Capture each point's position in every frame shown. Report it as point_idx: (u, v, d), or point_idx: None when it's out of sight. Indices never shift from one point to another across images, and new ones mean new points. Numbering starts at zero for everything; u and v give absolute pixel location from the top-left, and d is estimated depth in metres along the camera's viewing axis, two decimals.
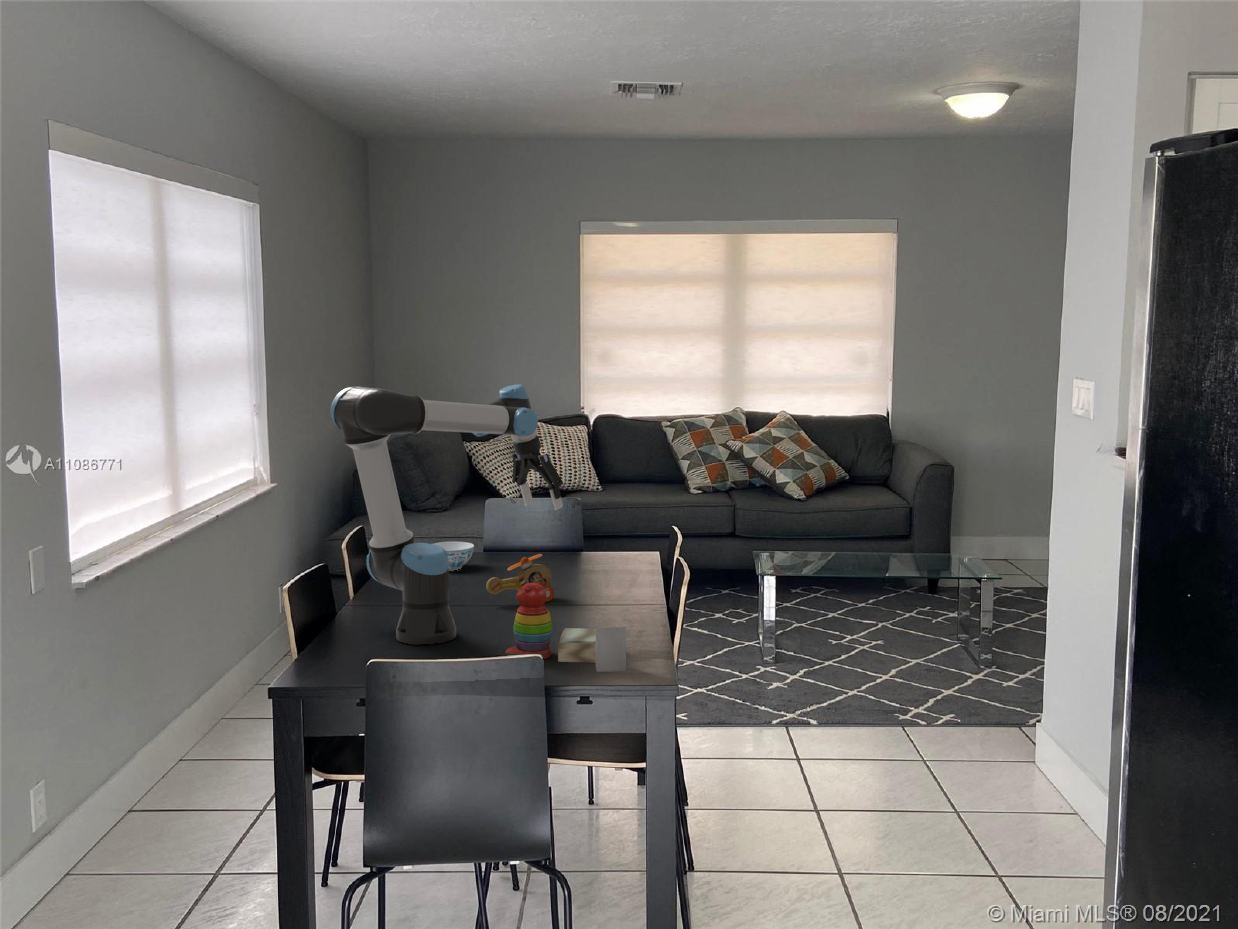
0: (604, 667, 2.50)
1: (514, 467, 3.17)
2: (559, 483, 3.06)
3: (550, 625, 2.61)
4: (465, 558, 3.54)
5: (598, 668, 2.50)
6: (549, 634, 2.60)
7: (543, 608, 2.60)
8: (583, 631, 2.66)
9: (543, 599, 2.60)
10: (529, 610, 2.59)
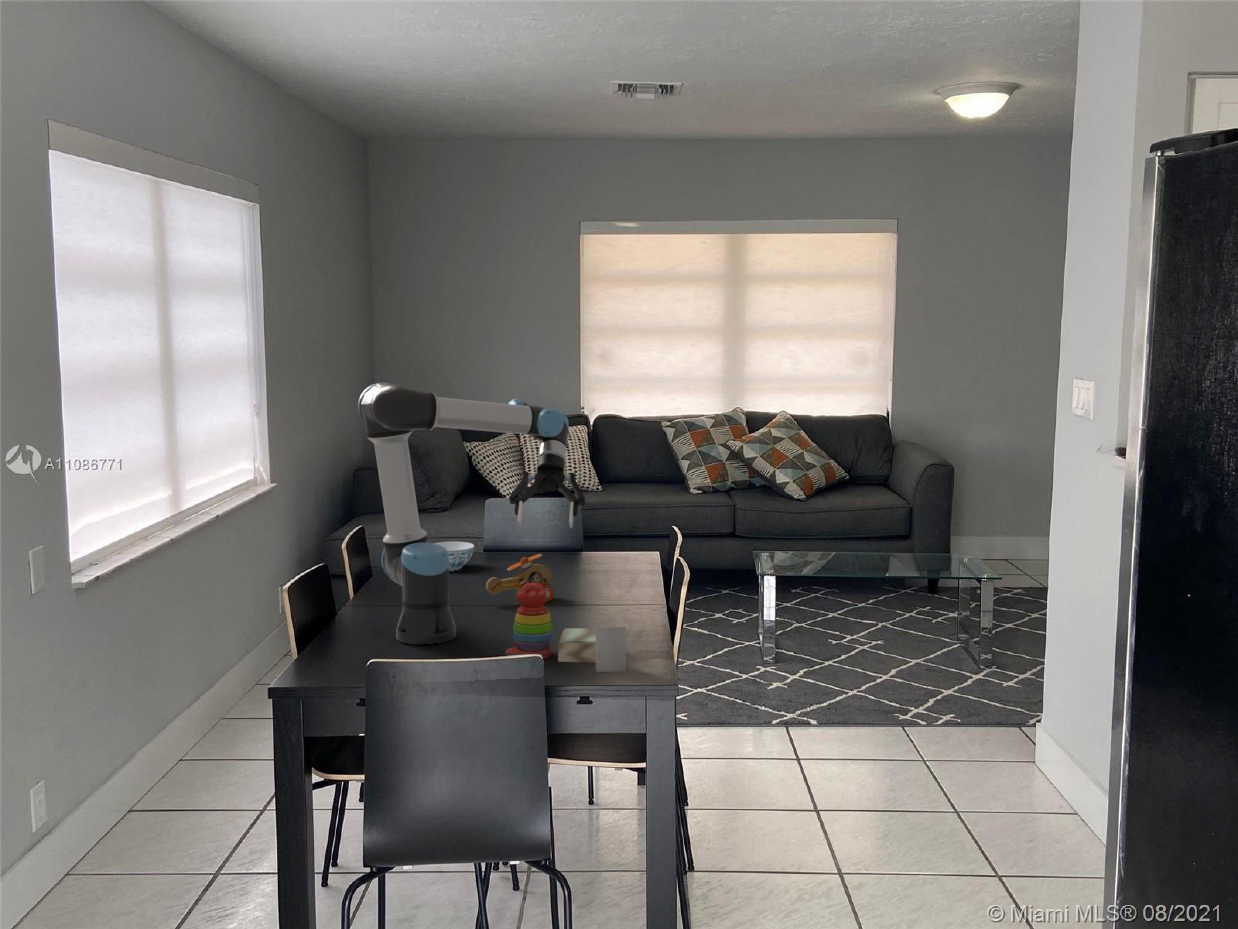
0: (604, 667, 2.50)
1: (520, 484, 2.91)
2: None
3: (550, 625, 2.61)
4: (465, 558, 3.54)
5: (598, 668, 2.50)
6: (549, 634, 2.60)
7: (543, 608, 2.60)
8: (583, 631, 2.66)
9: (543, 599, 2.60)
10: (529, 610, 2.59)
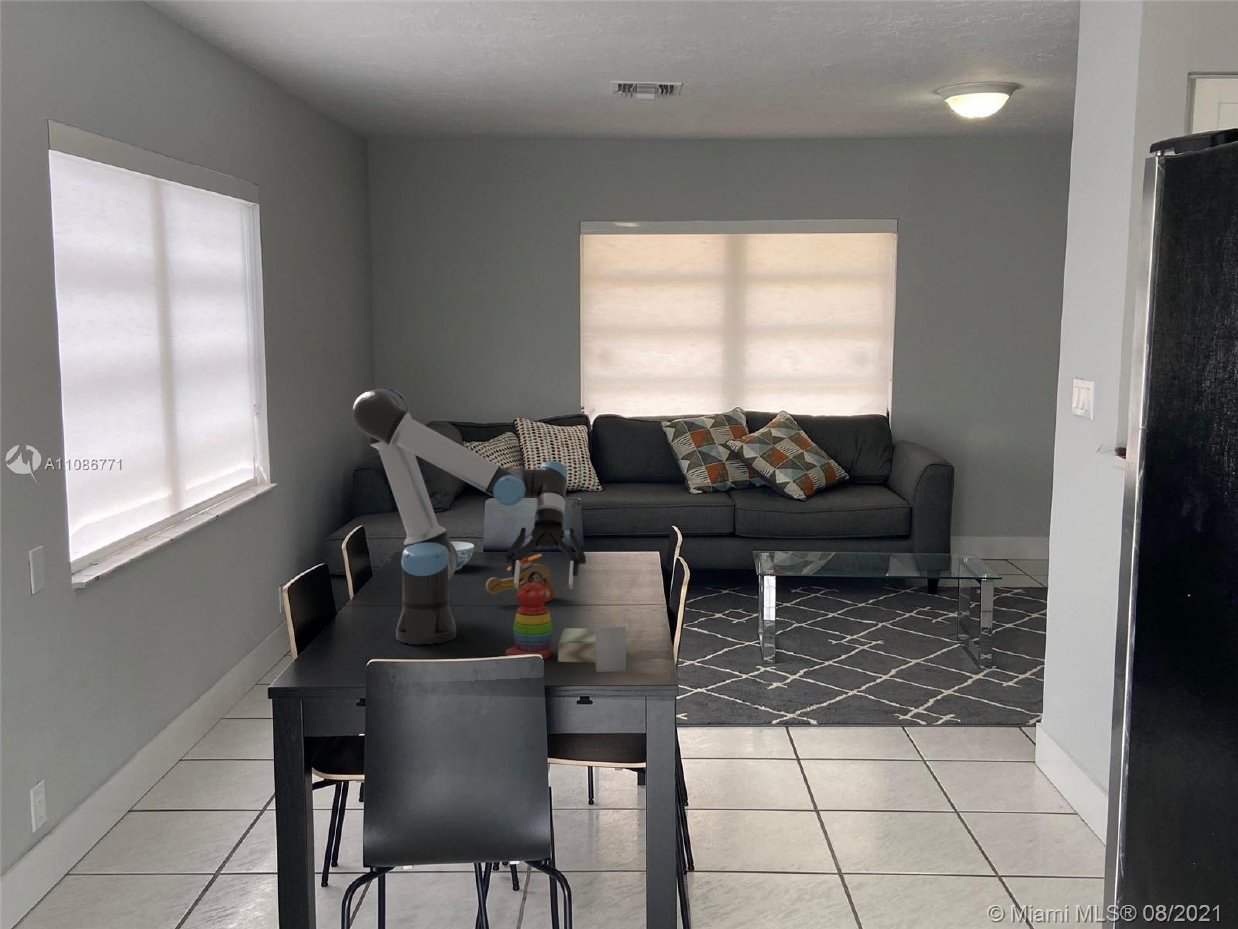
0: (604, 667, 2.50)
1: (517, 541, 2.75)
2: None
3: (550, 625, 2.61)
4: (465, 558, 3.54)
5: (598, 668, 2.50)
6: (549, 634, 2.60)
7: (543, 608, 2.60)
8: (583, 631, 2.66)
9: (543, 599, 2.60)
10: (529, 610, 2.59)
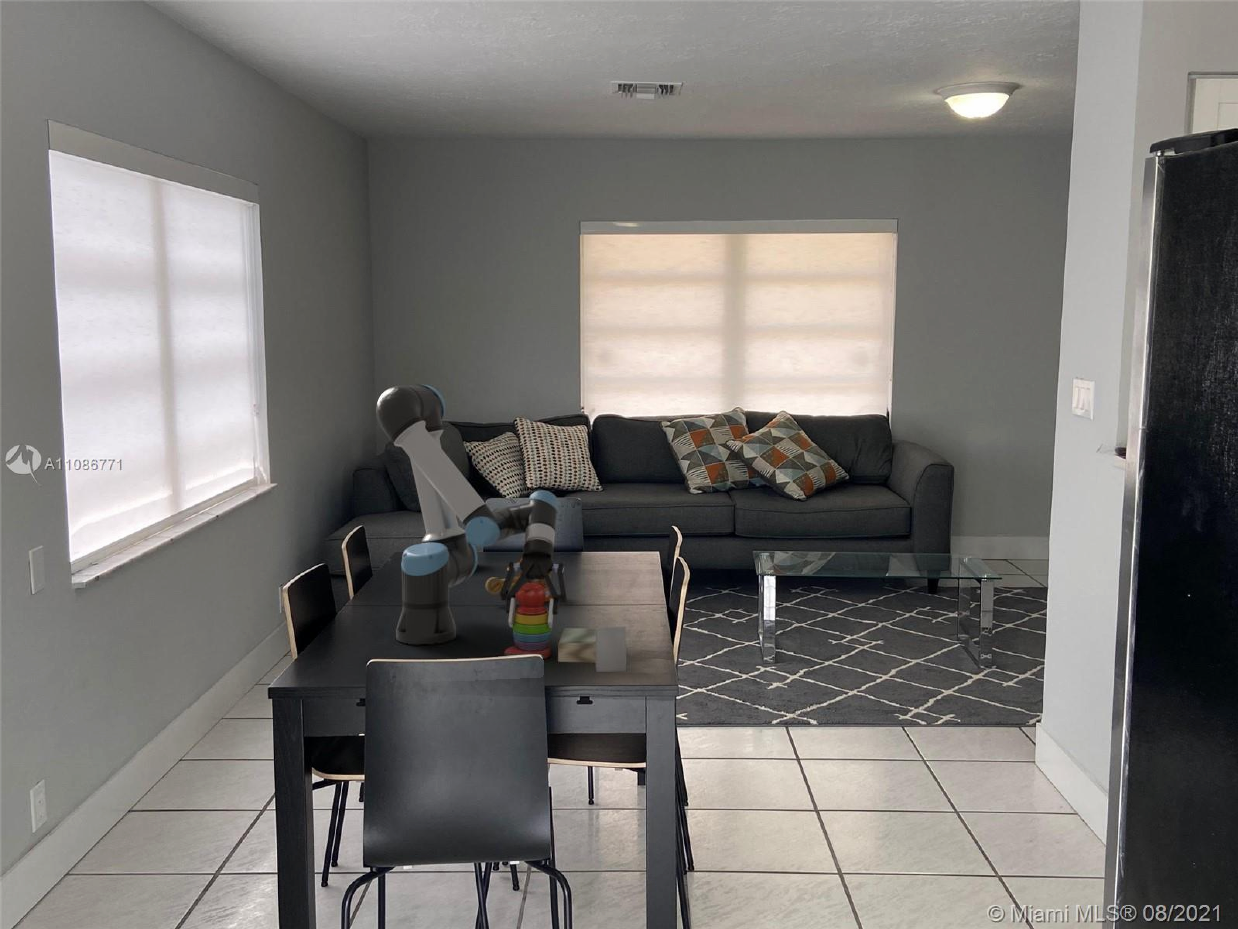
0: (604, 667, 2.50)
1: (508, 576, 2.66)
2: (565, 596, 2.63)
3: None
4: None
5: (598, 668, 2.50)
6: (548, 634, 2.60)
7: (542, 608, 2.60)
8: (583, 631, 2.66)
9: (542, 599, 2.60)
10: (529, 609, 2.59)
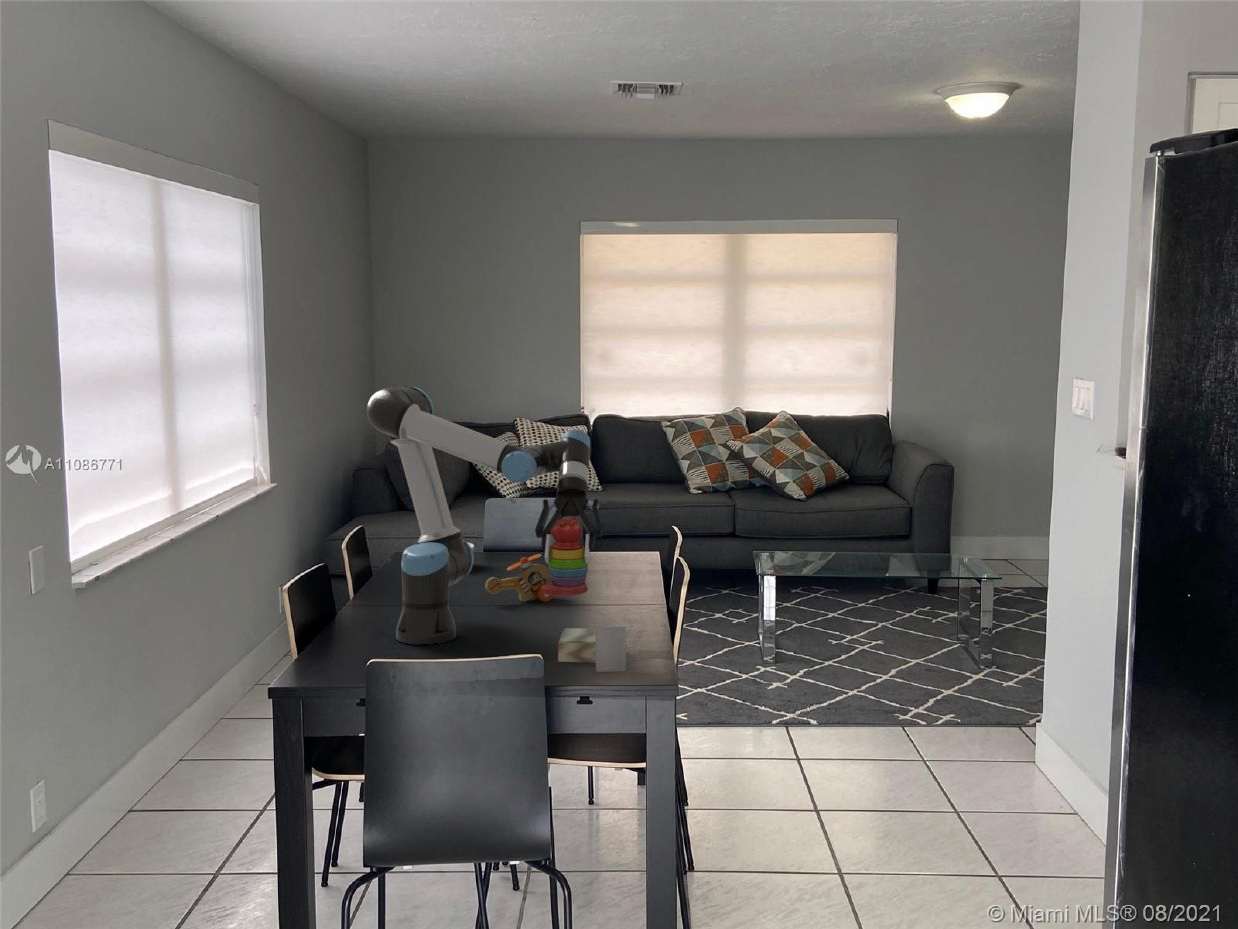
0: (604, 667, 2.50)
1: (543, 514, 2.64)
2: (601, 531, 2.61)
3: None
4: None
5: (598, 668, 2.50)
6: (585, 569, 2.58)
7: (578, 543, 2.58)
8: (583, 631, 2.66)
9: (578, 534, 2.58)
10: (565, 544, 2.56)
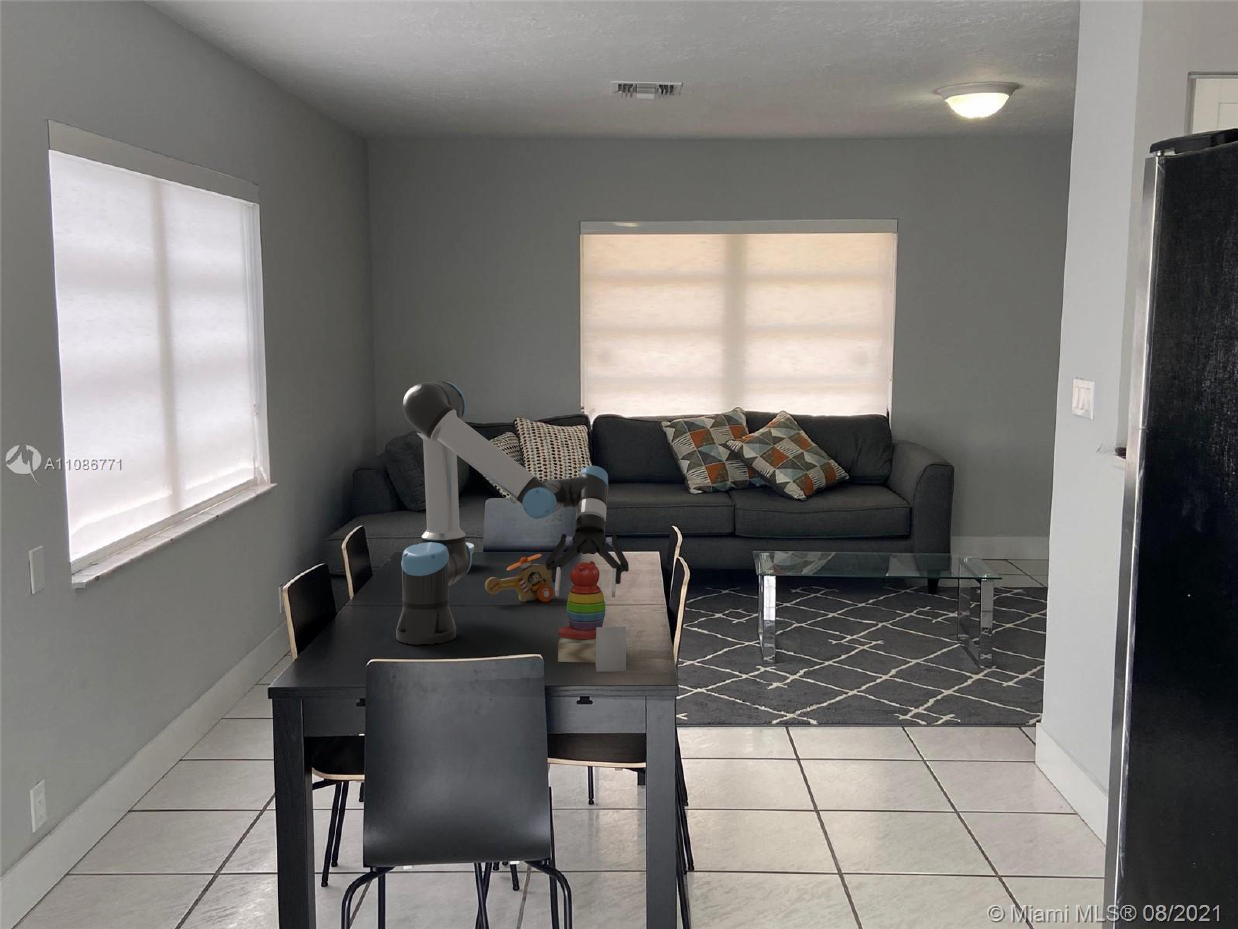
0: (604, 667, 2.50)
1: (558, 547, 2.66)
2: None
3: (603, 604, 2.60)
4: None
5: (598, 668, 2.50)
6: (603, 613, 2.60)
7: (596, 587, 2.60)
8: None
9: (596, 578, 2.60)
10: (583, 588, 2.58)
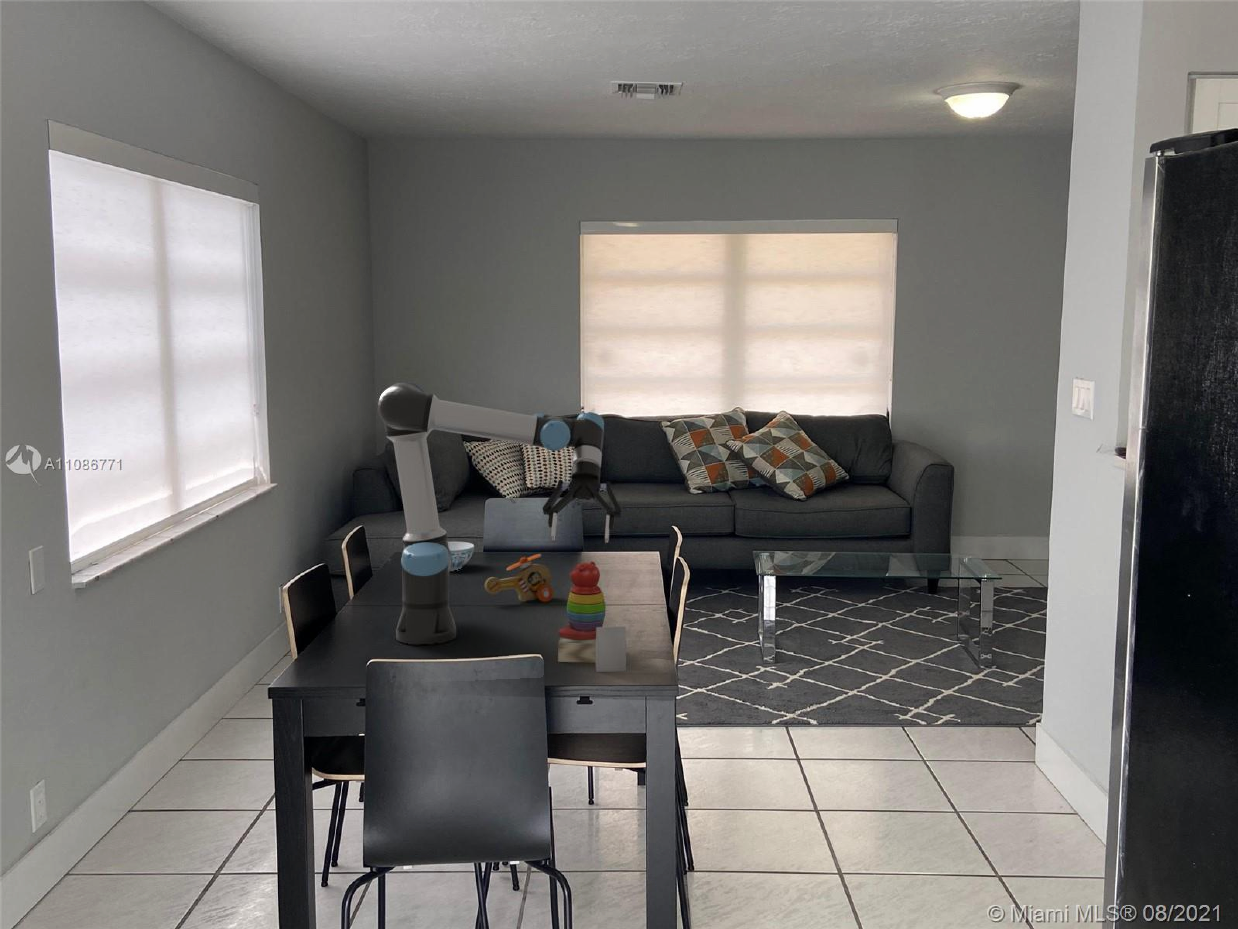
0: (604, 667, 2.50)
1: (554, 493, 2.80)
2: None
3: (604, 605, 2.60)
4: (465, 558, 3.54)
5: (598, 668, 2.50)
6: (603, 614, 2.60)
7: (597, 588, 2.60)
8: None
9: (597, 579, 2.59)
10: (584, 589, 2.58)
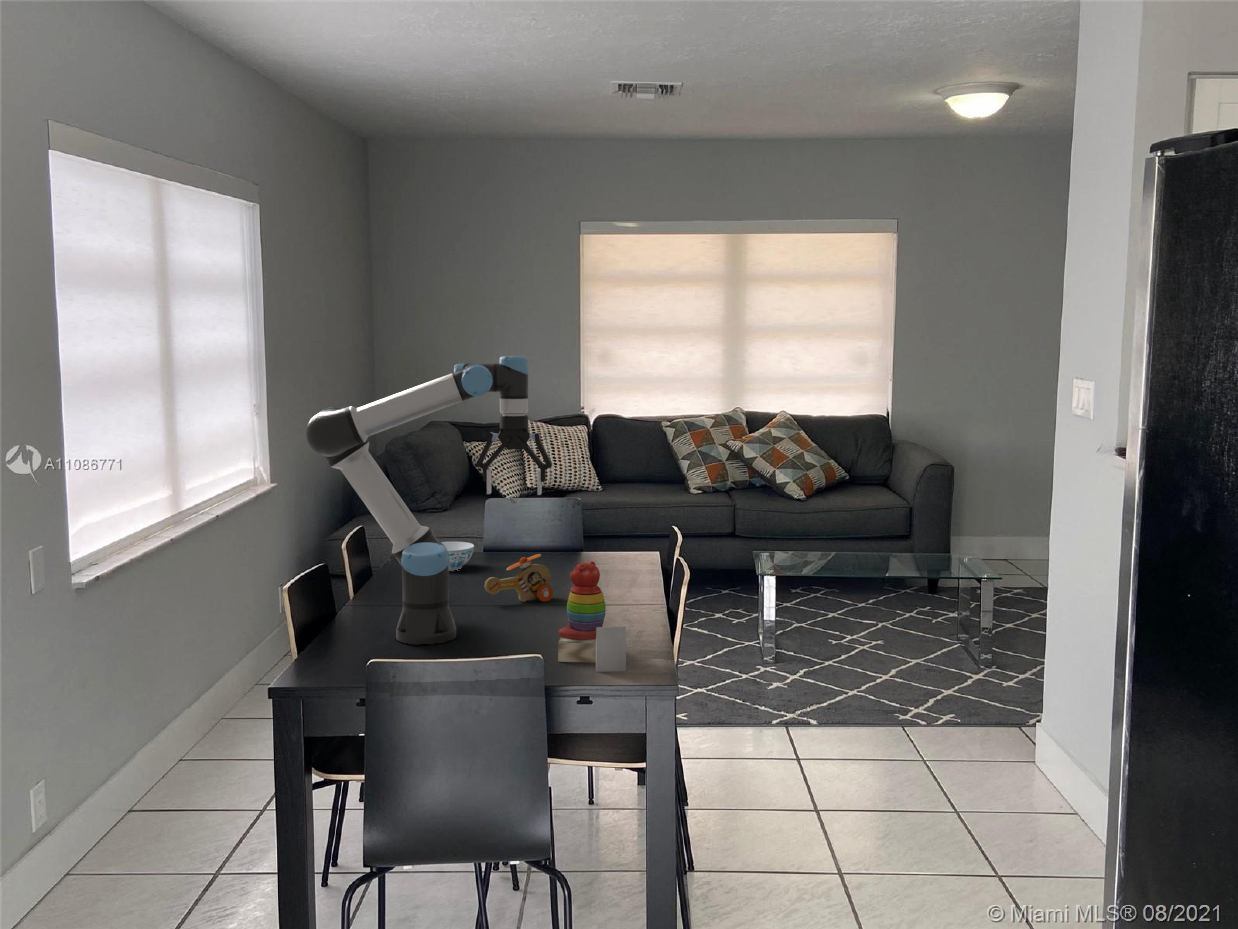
0: (604, 667, 2.50)
1: (485, 448, 2.88)
2: (551, 464, 2.89)
3: (604, 605, 2.60)
4: (465, 558, 3.54)
5: (598, 668, 2.50)
6: (603, 614, 2.60)
7: (597, 588, 2.60)
8: None
9: (597, 579, 2.59)
10: (584, 589, 2.58)
